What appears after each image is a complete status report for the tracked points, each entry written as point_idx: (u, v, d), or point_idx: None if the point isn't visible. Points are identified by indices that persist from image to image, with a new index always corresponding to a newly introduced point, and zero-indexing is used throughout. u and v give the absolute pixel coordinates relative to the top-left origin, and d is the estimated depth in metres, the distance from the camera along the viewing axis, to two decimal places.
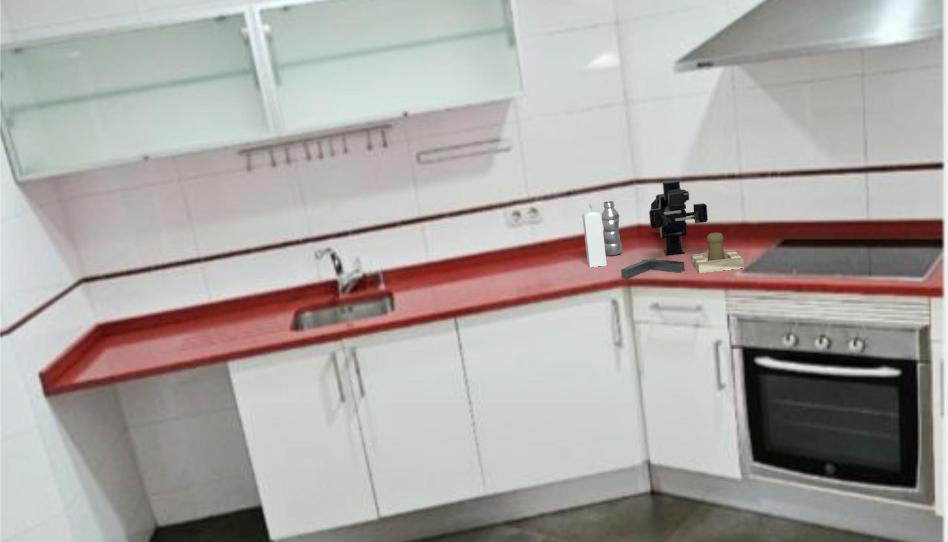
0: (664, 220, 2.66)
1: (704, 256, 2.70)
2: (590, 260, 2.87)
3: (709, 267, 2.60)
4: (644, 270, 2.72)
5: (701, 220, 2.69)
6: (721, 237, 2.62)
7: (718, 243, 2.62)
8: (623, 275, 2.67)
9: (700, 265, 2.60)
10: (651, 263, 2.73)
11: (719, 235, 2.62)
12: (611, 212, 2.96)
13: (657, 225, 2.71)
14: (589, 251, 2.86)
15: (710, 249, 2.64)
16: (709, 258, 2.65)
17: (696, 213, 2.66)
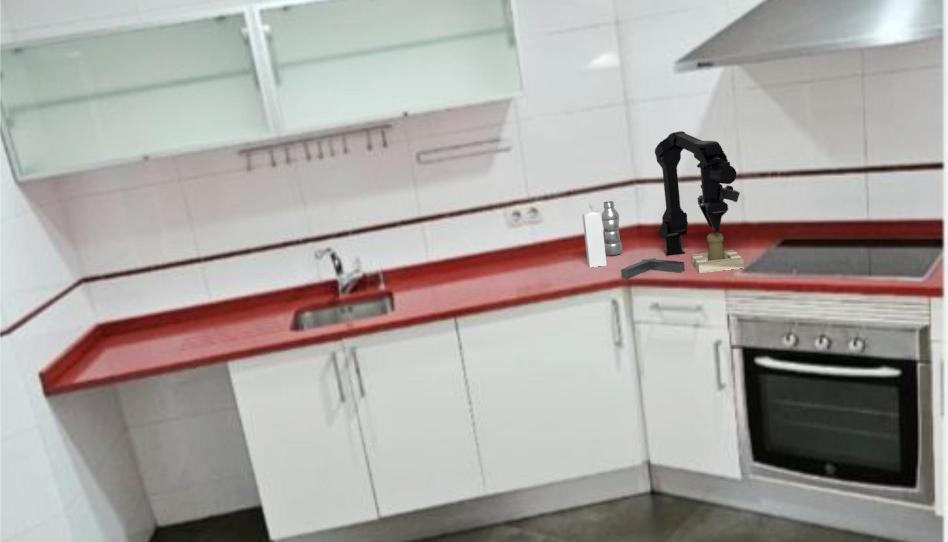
0: (717, 225, 2.58)
1: (704, 256, 2.70)
2: (590, 260, 2.87)
3: (709, 267, 2.60)
4: (644, 270, 2.72)
5: None
6: (721, 237, 2.62)
7: (718, 243, 2.62)
8: (623, 275, 2.67)
9: (700, 265, 2.60)
10: (651, 263, 2.73)
11: (719, 235, 2.62)
12: (611, 212, 2.96)
13: None
14: (589, 251, 2.86)
15: (710, 249, 2.64)
16: (709, 258, 2.65)
17: None
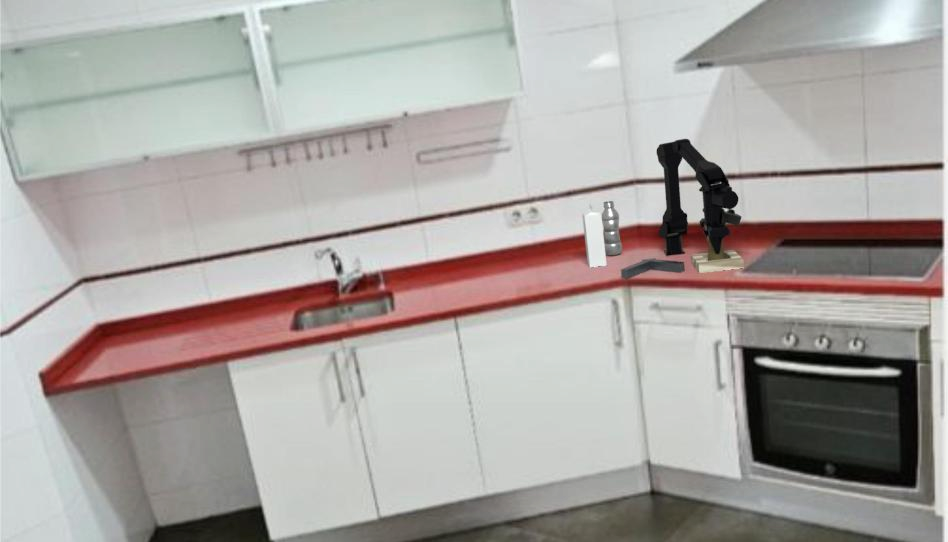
0: (718, 248, 2.62)
1: (704, 256, 2.70)
2: (590, 260, 2.87)
3: (709, 267, 2.60)
4: (644, 270, 2.72)
5: None
6: None
7: None
8: (623, 275, 2.67)
9: (700, 265, 2.60)
10: (651, 263, 2.73)
11: None
12: (611, 212, 2.96)
13: None
14: (589, 251, 2.86)
15: (710, 249, 2.64)
16: (709, 258, 2.65)
17: None
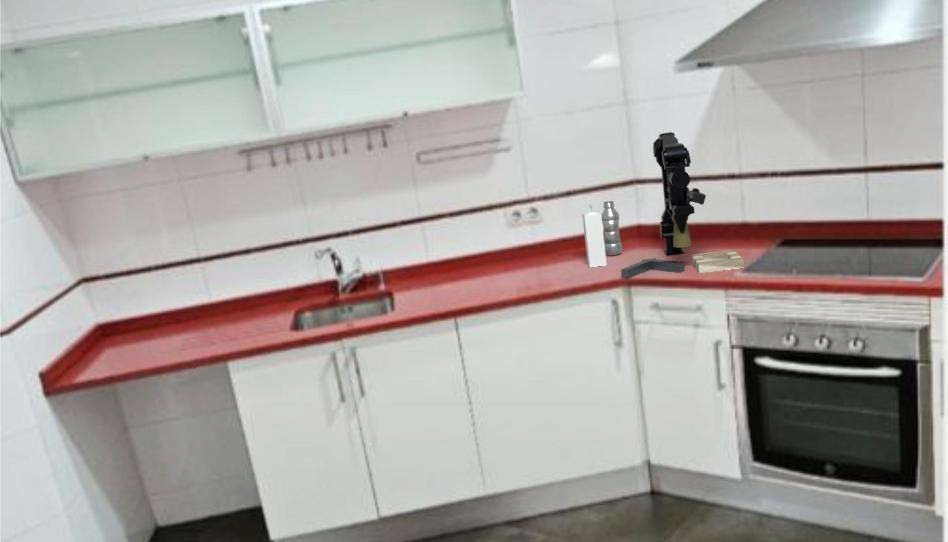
0: (683, 227, 2.60)
1: (704, 256, 2.70)
2: (590, 260, 2.87)
3: (709, 267, 2.60)
4: (644, 270, 2.72)
5: None
6: None
7: None
8: (623, 275, 2.67)
9: (700, 265, 2.60)
10: (651, 263, 2.73)
11: None
12: (611, 212, 2.96)
13: (675, 216, 2.58)
14: (589, 251, 2.86)
15: (675, 228, 2.63)
16: (674, 237, 2.64)
17: None
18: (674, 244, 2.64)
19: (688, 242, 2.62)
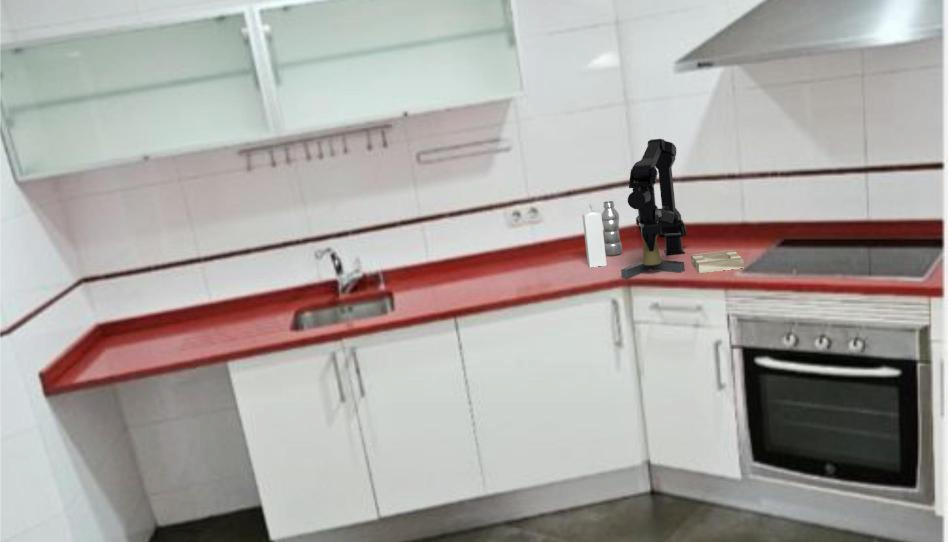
0: (652, 245, 2.62)
1: (704, 256, 2.70)
2: (590, 260, 2.87)
3: (709, 267, 2.60)
4: (644, 270, 2.72)
5: None
6: None
7: None
8: (623, 275, 2.67)
9: (700, 265, 2.60)
10: None
11: None
12: (611, 212, 2.96)
13: (644, 234, 2.60)
14: (589, 251, 2.86)
15: (644, 246, 2.65)
16: (644, 255, 2.66)
17: None
18: (644, 262, 2.66)
19: (657, 260, 2.64)
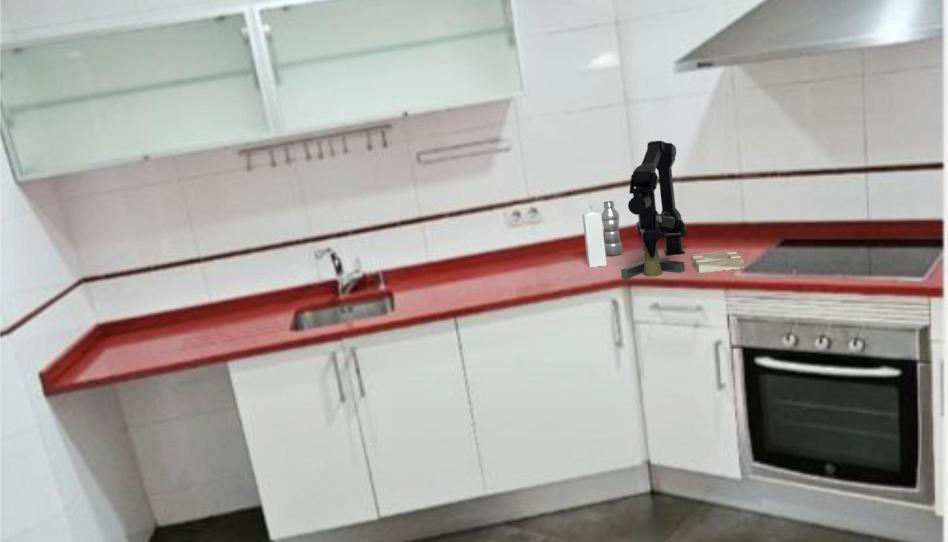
0: (652, 251, 2.62)
1: (704, 256, 2.70)
2: (590, 260, 2.87)
3: (709, 267, 2.60)
4: None
5: None
6: (656, 245, 2.64)
7: None
8: (623, 275, 2.67)
9: (700, 265, 2.60)
10: None
11: None
12: (611, 212, 2.96)
13: (645, 240, 2.59)
14: (589, 251, 2.86)
15: (645, 257, 2.66)
16: (645, 266, 2.67)
17: None
18: (645, 273, 2.67)
19: (658, 271, 2.65)
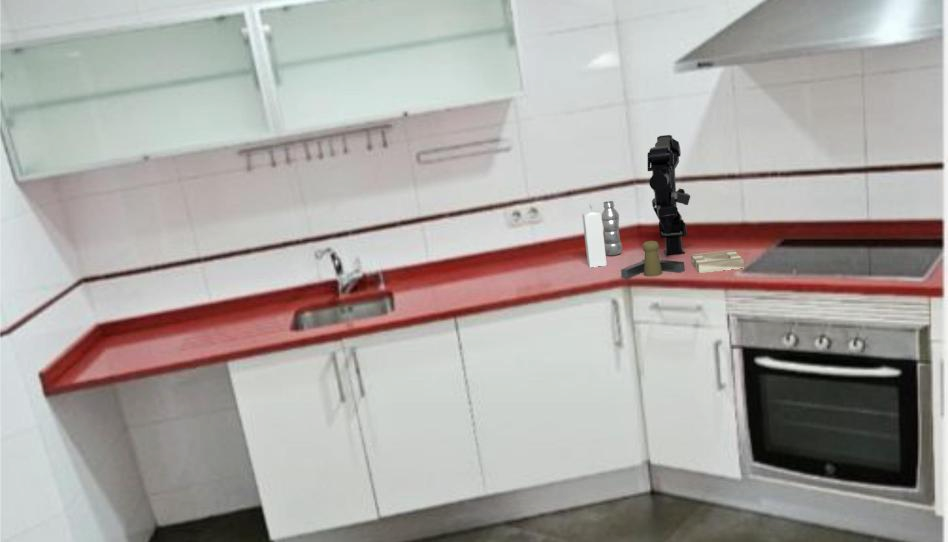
0: (668, 228, 2.68)
1: (704, 256, 2.70)
2: (590, 260, 2.87)
3: (709, 267, 2.60)
4: None
5: None
6: (656, 245, 2.64)
7: (653, 251, 2.64)
8: (623, 275, 2.67)
9: (700, 265, 2.60)
10: None
11: (654, 243, 2.64)
12: (611, 212, 2.96)
13: (661, 217, 2.65)
14: (589, 251, 2.86)
15: (646, 257, 2.66)
16: (645, 266, 2.67)
17: None
18: (645, 273, 2.67)
19: (658, 271, 2.65)
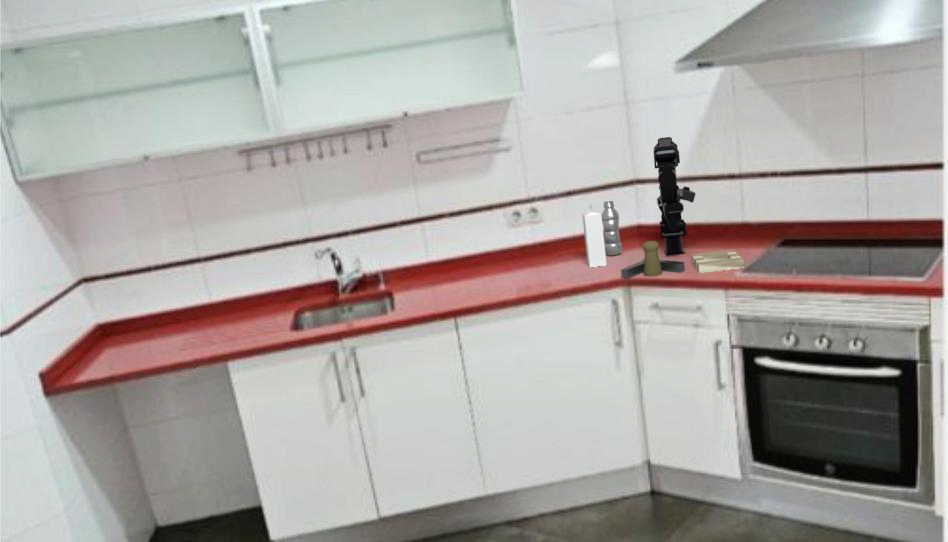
0: (674, 224, 2.70)
1: (704, 256, 2.70)
2: (590, 260, 2.87)
3: (709, 267, 2.60)
4: None
5: None
6: (656, 245, 2.64)
7: (653, 251, 2.64)
8: (623, 275, 2.67)
9: (700, 265, 2.60)
10: None
11: (654, 243, 2.64)
12: (611, 212, 2.96)
13: None
14: (589, 251, 2.86)
15: (646, 257, 2.66)
16: (645, 266, 2.67)
17: None
18: (645, 273, 2.67)
19: (658, 271, 2.65)
